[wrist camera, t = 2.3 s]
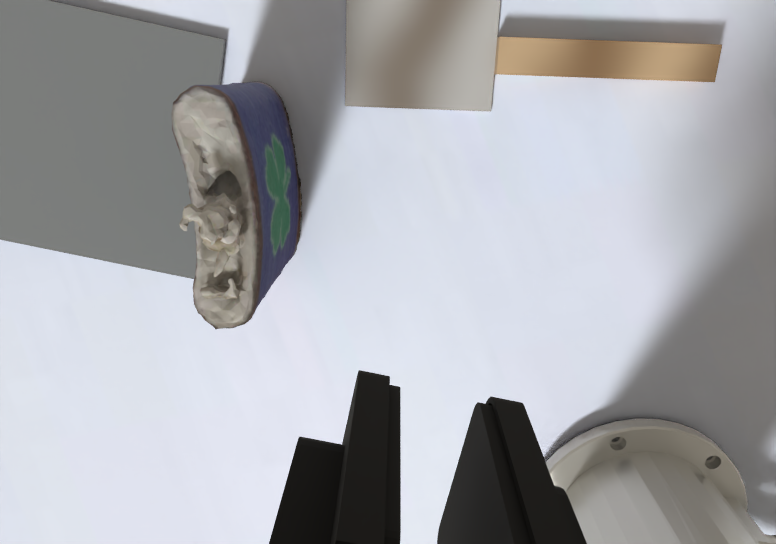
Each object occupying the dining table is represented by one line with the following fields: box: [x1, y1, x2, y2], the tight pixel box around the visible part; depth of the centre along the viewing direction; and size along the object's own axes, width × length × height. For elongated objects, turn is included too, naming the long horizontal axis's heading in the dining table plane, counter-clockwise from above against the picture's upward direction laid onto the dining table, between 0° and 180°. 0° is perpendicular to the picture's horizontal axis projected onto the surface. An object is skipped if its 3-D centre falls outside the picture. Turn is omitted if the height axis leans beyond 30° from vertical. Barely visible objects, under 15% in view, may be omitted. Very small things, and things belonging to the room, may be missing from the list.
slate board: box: [0, 0, 226, 279], centre depth 29 cm, size 17×12×1 cm
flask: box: [171, 82, 302, 329], centre depth 25 cm, size 9×3×11 cm, turn 2°
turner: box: [345, 0, 722, 111], centre depth 28 cm, size 17×5×1 cm, turn 88°
